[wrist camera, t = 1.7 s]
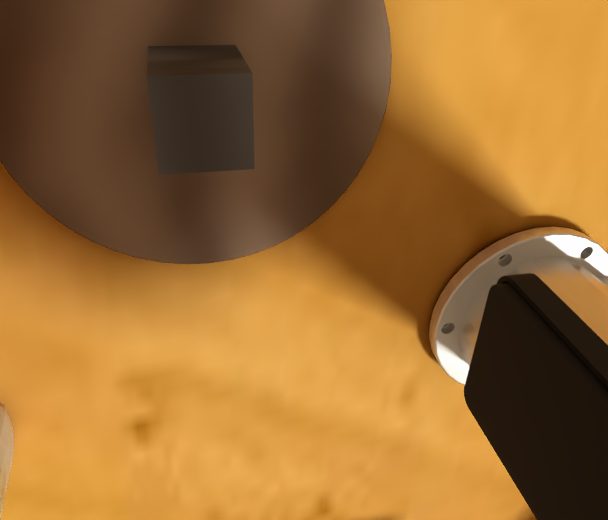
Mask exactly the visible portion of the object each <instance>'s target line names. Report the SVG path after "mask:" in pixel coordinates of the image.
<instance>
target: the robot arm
mask: <svg viewBox="0 0 608 520" xmlns="http://www.w3.org/2000/svg"><path fill="white" fill-rule="evenodd" d="M429 340H430V344H431V349H432V352H433V354H434V356H435V357H436V359H437V361H438V363H439V365H440V366H441V367H442V369H443V370H444V371H445V373H446V374H447V375H448V376H450V377H451V378H452V379H454V380H455V381H456V382H458V383H460V384H463V385H465V387H464V396H465V401H466V404H467V406H468V408H469V409H470V411H471V413H472V414H473V416H474V418H475V419H476V421H477V422H478V424H479V426H480V427H481V429H482V431H483V432H484V434H485V435H486V437H487V439H488V440H489V442H490V444H491V445H492V447H493V449H494V450H495V452H496V453H497V455H498V457H499V458H500V460H501V462H502V463H503V465H504V466H505V468H506V470H507V471H508V473H509V475H510V476H511V478H512V480H513V481H514V483H515V484H516V486H517V488H518V489H519V491H520V493H521V494H522V496H523V497H524V499H525V501H526V502H527V504H528V506H529V507H530V509H531V511H532V512H533V514H534V515H535V517H536V519H537V520H608V253H607V252H606V251H605V250H604V249H603V248H602V247H601V246H600V245H599V244H598V243H597V242H595V241H594V240H592V239H591V238H590V237H588V236H587V235H585V234H584V233H581V232H579V231H576V230H573V229H570V228H563V227H554V226H553V227H541V228H534V229H530V230H526V231H522V232H518V233H515V234H513V235H511V236H508V237H506V238H504V239H501V240H499V241H497V242H495V243H494V244H492V245H491V246H489V247H487V248H486V249H484V250H482V251H481V252H479V253H478V254H477V255H476V256H474V257H473V258H472V259H471V260H470V261H468V262H467V263H466V264H465V265H464V266H463V267H462V268H461V269H460V270H459V271H458V272H457V273H456V274H455V275H454V276H453V277H452V279H451V280H450V281H449V283H448V284H447V286H446V287H445V289H444V290H443V292H442V293H441V295H440V297H439V299H438V301H437V303H436V305H435V307H434V310H433V313H432V317H431V321H430V330H429Z"/></svg>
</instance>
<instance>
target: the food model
mask: <svg viewBox="0 0 608 520" xmlns="http://www.w3.org/2000/svg"><path fill="white" fill-rule="evenodd" d="M13 452H14V430H13V426H12V424H11V421H10V418H9V415H8V412H7V410H6V408H5V406H4V405H3V404H1V403H0V518H1V513H2V509H3V504H4V499H5V495H6V490H7V485H8V479H9V474H10V469H11V465H12V461H13Z"/></svg>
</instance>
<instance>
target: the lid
mask: <svg viewBox="0 0 608 520" xmlns="http://www.w3.org/2000/svg"><path fill="white" fill-rule="evenodd" d="M391 59H392V55H391V41H390V29H389V24H388V19H387V14H386V9H385V4H384V0H0V161H1V162H2V164H3V165H4V167H5V168H6V170H7V171H8V173H9V174H10V175H11V176H12V177H13V179H14V180H15V181H16V182H17V183H18V184H19V185H20V187H21V188H22V189H23V190H24V191H25V192H26V193H27V195H28V196H29V197H31V198H32V199H33V200H34V201H35V202H36V203H37V204H38V205H39V206H40V207H42V208H43V209H44V210H45V211H46V212H47V213H48V214H50V215H51V216H52V217H54V218H55V219H57V220H58V221H59V222H61V223H62V224H64V225H65V226H66V227H68V228H69V229H71V230H73V231H74V232H76V233H78V234H80V235H82V236H83V237H85V238H87V239H89V240H91V241H92V242H95V243H97V244H99V245H102V246H104V247H107V248H109V249H111V250H114V251H116V252H120V253H123V254H127V255H130V256H133V257H137V258H141V259H146V260H152V261H157V262H164V263H178V264H200V263H213V262H220V261H226V260H232V259H236V258H240V257H244V256H247V255H251V254H254V253H257V252H260V251H262V250H265V249H267V248H270V247H272V246H275V245H277V244H279V243H280V242H282V241H284V240H286V239H288V238H290V237H292V236H294V235H295V234H297V233H298V232H300V231H301V230H303V229H304V228H306V227H307V226H309V225H310V224H312V223H313V222H314V221H315V220H316V219H318V218H319V217H320V216H321V215H322V214H323V213H325V212H326V211H327V210H328V209H329V208H330V207H331V206H332V205H333V204H334V203H335V202H336V201H337V200H338V199H339V198H340V196H341V195H342V194H343V193H344V192H345V191H346V189H347V188H348V187H349V185H350V184H351V183H352V181H353V180H354V179H355V177H356V176H357V175H358V173H359V171H360V170H361V168H362V166H363V164H364V163H365V161H366V159H367V157H368V156H369V154H370V152H371V149H372V147H373V145H374V142H375V140H376V138H377V135H378V133H379V130H380V127H381V124H382V120H383V117H384V113H385V110H386V106H387V100H388V94H389V88H390V80H391Z"/></svg>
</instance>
